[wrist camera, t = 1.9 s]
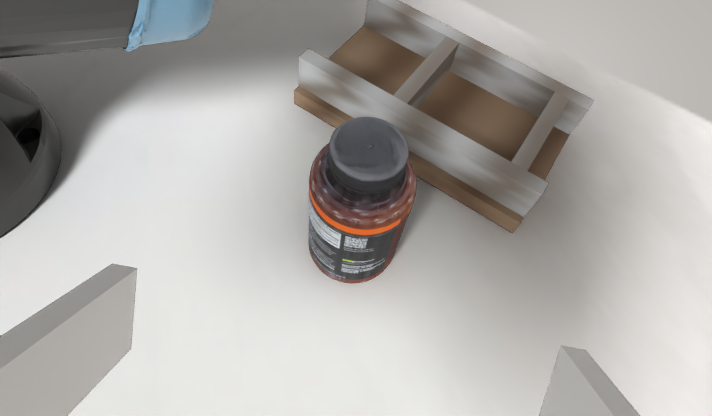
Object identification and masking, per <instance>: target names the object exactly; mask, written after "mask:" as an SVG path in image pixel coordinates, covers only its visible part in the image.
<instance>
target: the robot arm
mask: <svg viewBox="0 0 712 416" xmlns="http://www.w3.org/2000/svg"><path fill="white" fill-rule="evenodd" d="M213 6H214V0H0V58H9V57H20V56H32V55H43V54H54V53H65V52H76V51H87V50H99V49H110V48H121V47H123V50H124V51H133V50H135V49H137V48H138V47H139V46H142V45H149V44H157V43H164V42H172V41H179V40H186V39H189V38H192V37H194V36H196V35H198V34H199V33H200V32H201V31H202V30H203V29H204V28H205V27H206V26H207V24H208V22H209V20H210V18H211V15H212V11H213ZM60 157H61V141H60V135H59V132H58V129H57V127H56V125H55V123H54V121H53V120H52V118H51V117H50V115H49V114H48V112H47V111H46V109H45V108H44V106H43V105H42V103H41V102H40V101H39V99H38V98H37V97H36V96H35V95H34V94H33V93H32V92H31V91H30V90H29V89H28V88H27V87H26V86H25V85H23V84H22V83H21V82H19V81H18V80H17V79H15V78H14V77H12V76H11V75H9V74H8V73H7V72H5V71H4V70H2V69H1V68H0V236H1V235H3V234H4V233H6V232H7V231H9V230H10V229H11V228H13V227H14V226H15V225H17V224H18V223H19V222H20V221H21V220H22V219H24V218H25V217H26V216H27V215H28V214H29V213H30V212H31V211H32V210H33V209H34V208H35V207H36V205H37V204H38V203H39V202H40V201H41V199H42V198H43V196H44V195H45V194H46V192H47V191H48V189H49V187H50V186H51V184H52V182H53V180H54V178H55V175H56V173H57V170H58V167H59V163H60ZM136 277H137V268H133V267H128V266H122V265H117V264H111V265H109V266H108V267H106V268H105V269H103V270H102V271H100V272H99V273H97V274H96V275H94V276H93V277H91V278H89V279H88V280H86V281H85V282H83V283H82V284H80V285H79V286H77V287H76V288H74V289H73V290H71V291H69V292H68V293H66V294H65V295H63V296H62V297H60V298H59V299H57V300H56V301H54V302H52V303H51V304H49V305H48V306H46V307H45V308H43V309H42V310H40V311H39V312H37V313H36V314H34V315H32V316H31V317H29V318H28V319H26V320H25V321H23V322H22V323H20V324H19V325H17V326H16V327H14V328H12V329H11V330H9V331H8V332H6V333H5V334H3V335H2V336H0V416H68V415H69V414H70V413H71V411H72V410H73V409H74V408H75V407H76V406H77V405H78V404H79V403H80V402H81V401H82V400H83V399H84V398H85V397H86V396H87V395H88V394H89V393H90V391H91V390H92V389H93V388H94V387H95V386H96V385H97V384H98V383H99V382H100V381H101V380H102V379H103V378H104V377H105V376H106V375H107V374H108V373H109V372H110V370H111V369H112V368H113V367H114V366H115V365H116V364H117V363H118V362H119V361H120V360H121V359H122V358H123V357H124V356H125V355H126V354H127V353H128V352H129V350H130V349H131V344H132V331H133V318H134V304H135V291H136ZM539 416H640V415H639V414H638V412H637V411H636V410H635V409H634V408H633V406H632V405H631V404H630V403H629V402H628V400H627V399H626V398H625V397H624V396H623V394H622V393H621V392H620V391H619V390H618V388H617V387H616V386H615V385H614V384H613V382H612V381H611V380H610V379H609V378H608V376H607V375H606V374H605V373H604V372H603V370H602V369H601V368H600V367H599V366H598V364H597V363H596V362H595V361H594V360H593V358H592V357H591V356H590V355H589V354H588V352H587V351H586V350H583V349H577V348H572V347H566V346H561V347H560V350H559V354H558V357H557V360H556V363H555V366H554V369H553V373H552V376H551V379H550V382H549V385H548V388H547V392H546V395H545V398H544V401H543V404H542V407H541V411H540V414H539Z"/></svg>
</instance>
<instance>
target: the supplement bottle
mask: <svg viewBox="0 0 712 416" xmlns="http://www.w3.org/2000/svg"><path fill="white" fill-rule="evenodd" d="M408 157H409V147H408V143H407V141H406V139H405V137H404V135H403V134H402V133H401V132H400V131H399V129H398V128H396V127H395V126H394V125H392V124H391V123H389V122H387V121H385V120H382V119H379V118H375V117H357V118H353V119H350V120H348V121H346V122H344V123H342V124H341V125H340V126H339V127H338V128H337V129H336V130H335V131H334V133H333V134H332V136H331V139H330V143H329V144H327V145H326V146H325V147H324V148H323V149H322V150H321V151H320V152H319V154H318V155H317V156H316V158H315V160H314V162H313V164H312V167H311V171H310V178H309V232H308V239H309V250H310V254H311V257H312V259H313V261H314V262H315V264H316V265H317V267H318V268H319V269H320V270H321V271H322V272H323V273H324V274H326V275H327V276H329V277H330V278H332V279H335V280H338V281H341V282H345V283H360V282H365V281H368V280H371V279H373V278H375V277H376V276H378V275H379V274H380V273H381V272H383V271H384V270H385V268H386V267H387V266H388V264H389V263H390V261H391V259H392V257H393V255H394V252H395V249H396V247H397V244H398V241H399V239H400V236H401V233H402V231H403V228H404V225H405V223H406V220H407V218H408V215H409V213H410V210H411V207H412V204H413V201H414V198H415V195H416V185H417V180H416V174H415V171H414V167H413V166H412V164H411V162H410V160H409V159H408Z"/></svg>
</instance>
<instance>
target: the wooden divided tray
mask: <svg viewBox="0 0 712 416" xmlns="http://www.w3.org/2000/svg"><path fill="white" fill-rule="evenodd" d="M593 101H594V100H593V99H591V98H589V97H587V96H585V95H583V94H581V93H579V92H577V91H575V90H573V89H571V88H569V87H567V86H565V85H563V84H561V83H559V82H558V81H556V80H554V79H552V78H550V77H548V76H546V75H544V74H542V73H540V72H538V71H536V70H534V69H532V68H530V67H528V66H526V65H524V64H522V63H520V62H518V61H516V60H514V59H512V58H510V57H508V56H506V55H504V54H502V53H501V52H499V51H497V50H495V49H493V48H491V47H489V46H487V45H485V44H483V43H481V42H479V41H477V40H475V39H473V38H471V37H469V36H467V35H465V34H463V33H461V32H459V31H457V30H455V29H453V28H451V27H449V26H447V25H446V24H444V23H442V22H440V21H438V20H436V19H434V18H432V17H430V16H428V15H426V14H424V13H422V12H420V11H418V10H416V9H414V8H412V7H410V6H408V5H406V4H404V3H402V2H400V1H398V0H368V1H367V8H366V15H365V23H364V26H363V27H362V28H361V29H360V30H359V31H358V32H357V33H355V34H354V35H353V36H352V37H351V38H350V39H349V40H348V41H347V42H346V43H345V44H344V45H343V46H341V47H340V48H339V49H338V50H337V51H336V52H335V53H334V54H333V55H332V56H331V57H330V58H329V59H326V58H325V57H323V56H321V55H319V54H318V53H316V52H314V51H312V50H310V49H309V48H308V49H307V50H306V51H305V52H304V53H303V54H302V55H300V56H299V86H298V87H297V88H296V89H295V90H294V103H295V104H296V105H298V106H300V107H301V108H303V109H305V110H306V111H308V112H310V113H311V114H313V115H315V116H316V117H318V118H320V119H321V120H323V121H325V122H327V123H328V124H330V125H332V126H333V127H335V128H338V127H339V126H340V125H341V124H342V123H344V122H346V121H348V120H350V119H353V118H357V117H375V118H379V119H382V120H385V121H387V122H389V123H391V124H392V125H394V126H395V127H396V128H398V129H399V131H400V132H401V133H402V134H403V135H404V137H405V139H406V141H407V143H408V147H409V157H408V159H409V160H410V162H411V164H412V166H413V167H414V171H415V174H416V176H417V177H419V178H421V179H422V180H424V181H426V182H427V183H429V184H431V185H432V186H434V187H436V188H438V189H439V190H441V191H443V192H444V193H446V194H448V195H449V196H451V197H453V198H454V199H456V200H458V201H459V202H461V203H463V204H464V205H466V206H468V207H469V208H471V209H473V210H475V211H476V212H478V213H480V214H481V215H483V216H485V217H486V218H488V219H490V220H491V221H493V222H495V223H496V224H498V225H500V226H501V227H503V228H505V229H506V230H508V231H510V232H512V233H513V232H514V230H515V229H516V228H517V227H518V226H519V224H520V223H521V221H522V220H523V218H524V216H525V215H526V214H527V213H528V212H529V210H530V209H531V208H532V207H533V206H534V204H535V203H536V202H537V201H538V200H539V198H540V197H541V196H542V195H543V193H544V191H545V189H546V187H547V185H548V184H549V183H548V182H546V181H544V180H545V178H546V176H547V174H548V173H549V171H550V169H551V167H552V165H553V164H554V162H555V160H556V158H557V156H558V154H559V153H560V151H561V149H562V147H563V145H564V144H565V142H566V140H567V138H568V136H569V135H570V133H571V132H572V131H573V129H574V128H575V127H576V125H577V124H578V123H579V122H580V120H581V119H582V118H583V116H584V115H585V114H586V112H587V111H588V110H589V108H590V106H591V105H592V103H593Z"/></svg>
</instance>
